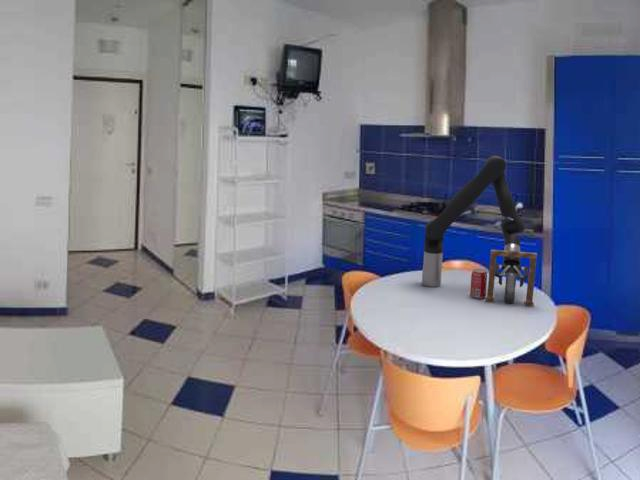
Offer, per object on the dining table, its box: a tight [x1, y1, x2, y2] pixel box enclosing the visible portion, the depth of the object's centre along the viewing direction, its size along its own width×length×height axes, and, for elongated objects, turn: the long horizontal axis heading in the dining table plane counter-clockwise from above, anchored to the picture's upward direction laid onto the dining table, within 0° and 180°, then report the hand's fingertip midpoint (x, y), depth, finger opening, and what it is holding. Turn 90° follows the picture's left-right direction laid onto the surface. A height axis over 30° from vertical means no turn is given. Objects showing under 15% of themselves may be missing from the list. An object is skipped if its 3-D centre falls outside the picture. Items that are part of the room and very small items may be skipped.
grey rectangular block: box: [503, 272, 517, 305], centre depth 242 cm, size 4×5×14 cm
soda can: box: [469, 268, 488, 300], centre depth 250 cm, size 7×7×13 cm
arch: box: [484, 249, 538, 307], centre depth 241 cm, size 21×5×24 cm, turn 73°
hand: (510, 285), depth 240 cm, fingers open, 8 cm apart
